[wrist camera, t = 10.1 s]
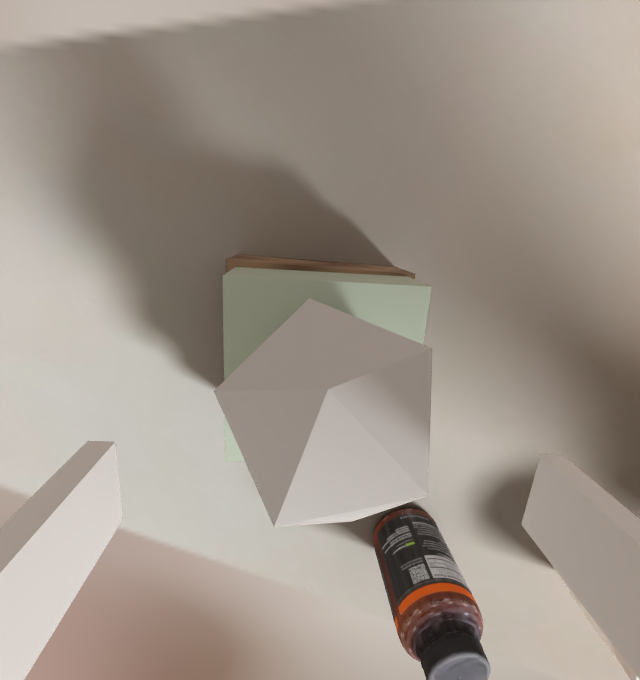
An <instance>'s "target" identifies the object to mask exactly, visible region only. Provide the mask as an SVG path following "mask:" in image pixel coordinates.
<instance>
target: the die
mask: <svg viewBox="0 0 640 680" xmlns="http://www.w3.org/2000/svg"><path fill="white" fill-rule="evenodd" d="M431 376H432V348H430V347H428V346H425V345H423V344H421V343H418V342H416V341H413V340H411V339H408V338H406V337H403V336H401V335H398V334H396V333H394V332H391V331H389V330H386V329H384V328H381V327H379V326H376V325H374V324H371V323H369V322H367V321H364V320H362V319H359V318H357V317H354V316H352V315H349V314H347V313H344V312H342V311H340V310H337V309H335V308H332V307H330V306H327V305H325V304H322V303H320V302H317V301H315V300H313V299H310V298H309V299H308V300H307V301H306V302H305V303H304V304H303V305H302V306H301V307H300V308H299V309H298V310H297V311H296V312H295V313H294V314H293V315H292V316H291V317H290V318H289V319H288V320H286V321H285V322H284V323H283V324H282V325H281V326H280V327H279V328H278V329H277V330H276V331H275V332H274V333H273V334H272V335H271V336H270V337H269V338H268V339H267V340H266V341H265V342H264V343H263V344H262V345H261V346H260V347H259V348H258V349H257V350H256V351H255V352H254V353H252V354H251V355H250V356H249V357H248V358H247V359H246V360H245V361H244V362H243V363H242V364H241V365H240V366H239V367H238V368H237V369H236V370H235V371H234V372H233V373H232V374H231V375H230V376H229V377H228V378H227V379H226V380H225V381H224V382H223V383H222V384H221V385H219V386H218V387H217V388H216V389H215V390H214V393H215V395H216V397H217V399H218V402H219V404H220V406H221V408H222V411H223V413H224V415H225V417H226V420H227V422H228V424H229V426H230V429H231V431H232V433H233V435H234V438H235V440H236V442H237V444H238V447H239V449H240V451H241V453H242V456H243V458H244V460H245V462H246V465H247V467H248V469H249V471H250V474H251V476H252V478H253V480H254V483H255V485H256V487H257V489H258V492H259V494H260V496H261V498H262V501H263V503H264V505H265V507H266V510H267V512H268V514H269V516H270V519H271V521H272V523H273V525H274V527H280V526H294V525H308V524H323V523H337V522H351V521H355V520H358V519H361V518H364V517H367V516H370V515H373V514H376V513H379V512H382V511H385V510H388V509H391V508H394V507H397V506H400V505H403V504H406V503H409V502H412V501H415V500H418V499H421V498H424V497H427V496H428V485H429V449H430V413H431Z"/></svg>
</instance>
